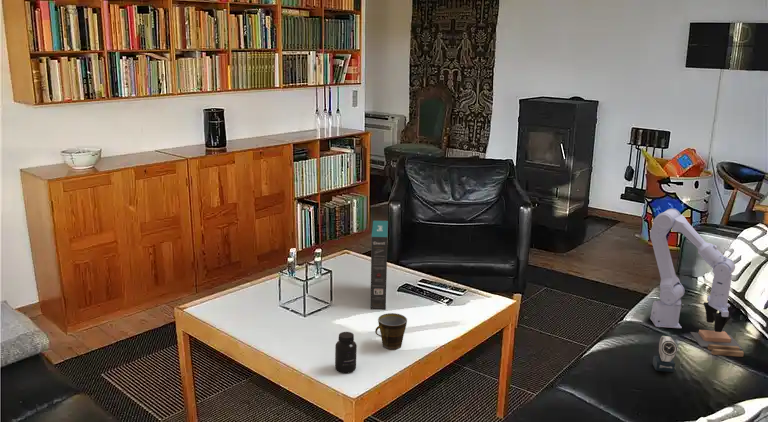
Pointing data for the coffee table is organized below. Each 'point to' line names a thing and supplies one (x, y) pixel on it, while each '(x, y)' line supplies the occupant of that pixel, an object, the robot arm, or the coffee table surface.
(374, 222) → the cake mix box
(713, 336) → the tile
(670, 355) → the watch
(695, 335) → the mat
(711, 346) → the rack
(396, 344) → the ceramic cup
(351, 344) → the supplement bottle
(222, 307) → the coffee table surface
